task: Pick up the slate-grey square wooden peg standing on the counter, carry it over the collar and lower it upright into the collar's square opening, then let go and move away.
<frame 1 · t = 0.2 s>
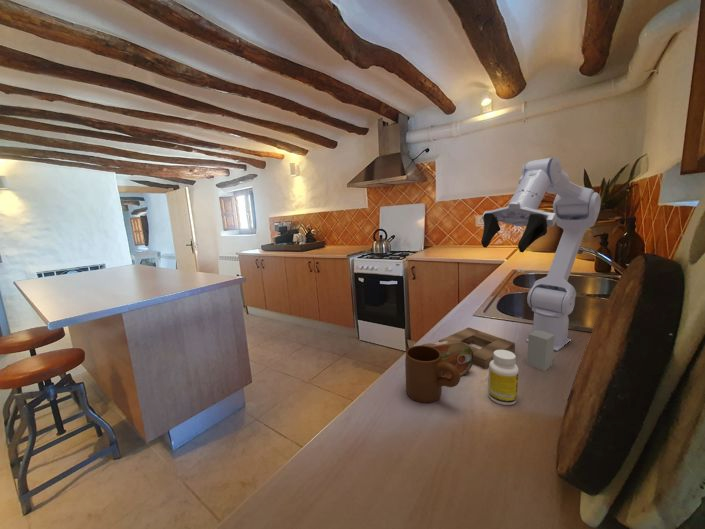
hand: (501, 246, 61), 31 cm above the countertop, tool tilted 45°, fingers open, 7 cm apart
collar: (475, 350, 80), on the countertop
supplement bottle: (501, 398, 60), on the countertop
peg: (539, 364, 71), on the countertop
tin: (441, 376, 69), on the countertop
mug: (432, 397, 62), on the countertop
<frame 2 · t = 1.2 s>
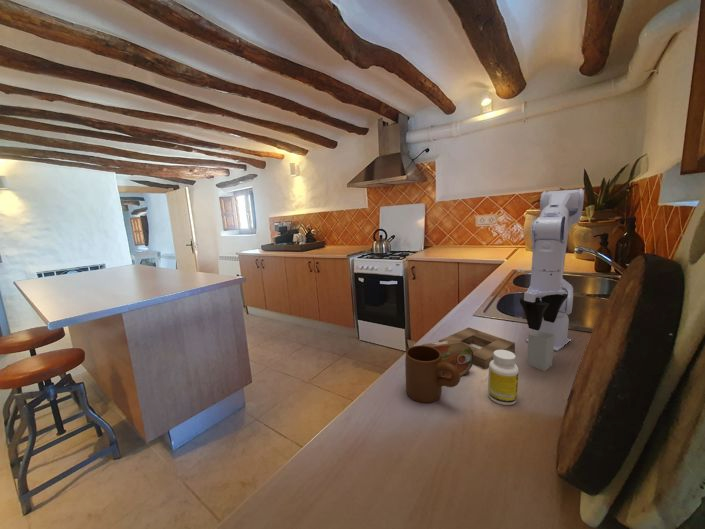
hand: (541, 325, 69), 11 cm above the countertop, tool pointing down, fingers open, 7 cm apart
nothing on the countertop moved.
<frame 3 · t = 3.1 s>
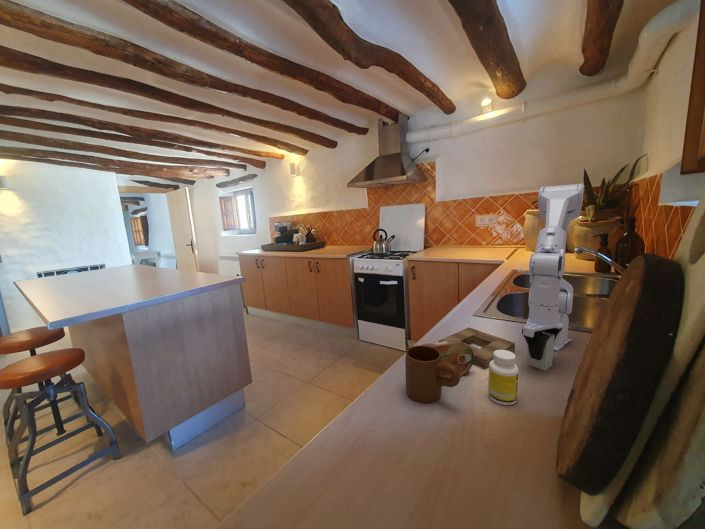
hand: (540, 355, 71), 2 cm above the countertop, tool pointing down, fingers closed on peg, 4 cm apart
peg: (539, 364, 71), on the countertop, touching gripper
everything else where it was.
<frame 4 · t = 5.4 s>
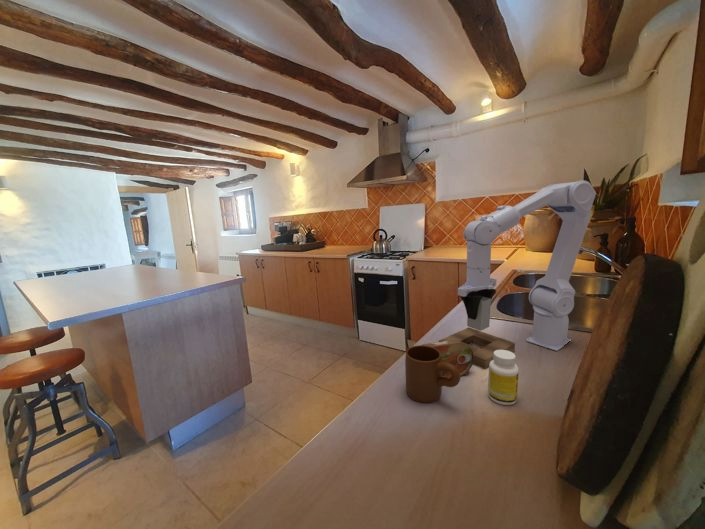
hand: (476, 316, 78), 10 cm above the countertop, tool pointing down, fingers closed on peg, 4 cm apart
peg: (478, 326, 78), point 7 cm above the countertop, touching gripper
everything else where it was.
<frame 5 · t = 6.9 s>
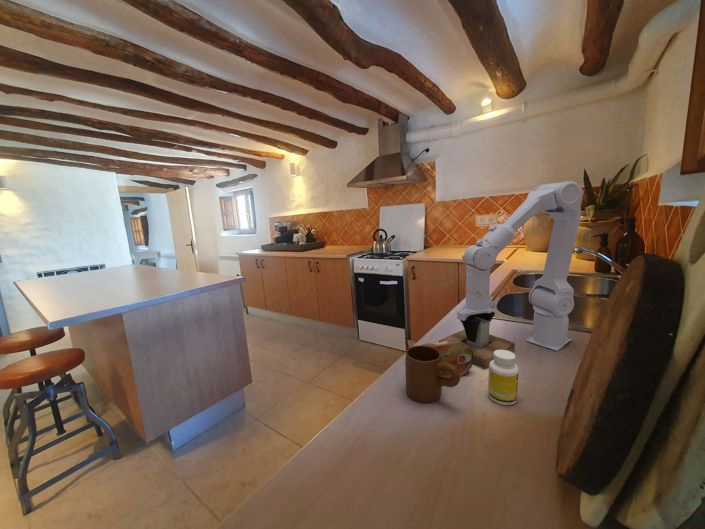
hand: (476, 338, 79), 4 cm above the countertop, tool pointing down, fingers closed on peg, 4 cm apart
peg: (477, 348, 80), point 1 cm above the countertop, touching gripper
everything else where it was.
when the fingers open (3 cm above the countertop, at t = 7.8 s): peg stays where it is, resting in collar.
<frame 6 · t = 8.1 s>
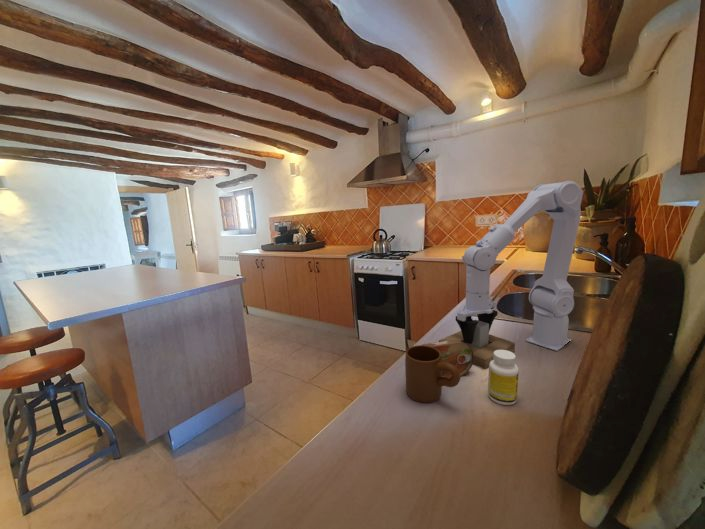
hand: (476, 338, 79), 3 cm above the countertop, tool pointing down, fingers open, 7 cm apart
peg: (477, 350, 80), resting in collar
everything else where it was.
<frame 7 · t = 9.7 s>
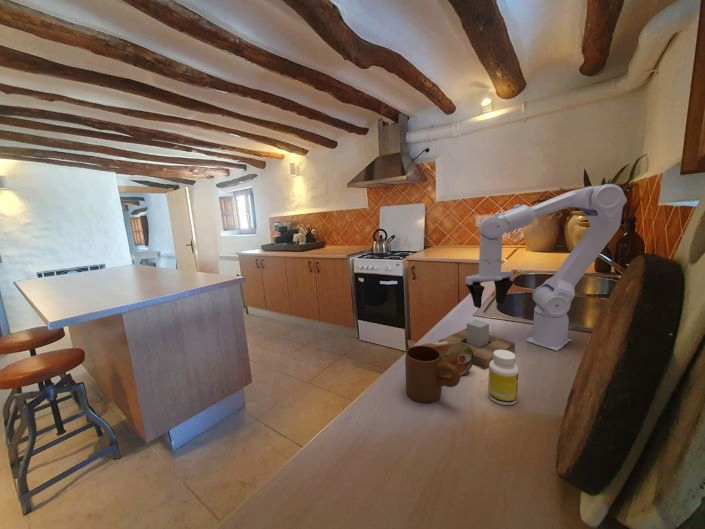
hand: (488, 305, 85), 10 cm above the countertop, tool pointing down, fingers open, 7 cm apart
nothing on the countertop moved.
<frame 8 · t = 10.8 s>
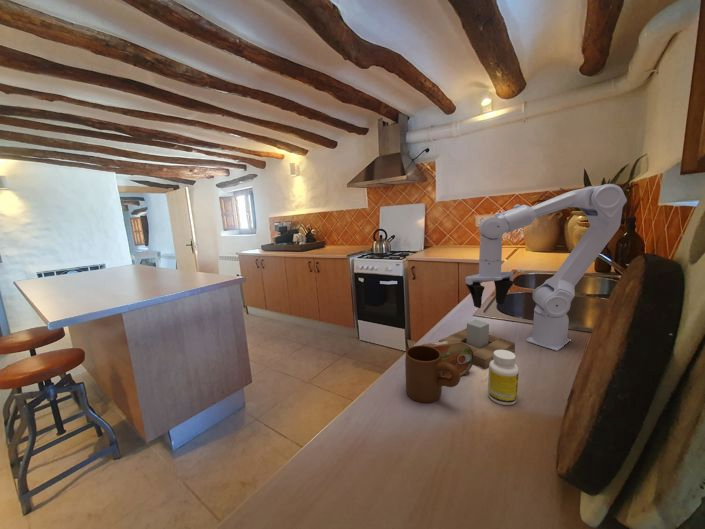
hand: (488, 305, 85), 10 cm above the countertop, tool pointing down, fingers open, 7 cm apart
nothing on the countertop moved.
at the end: peg 0.4 cm off-centre on the collar, point 0.0 cm above the collar's base; peg tilted 0°; the gripper is holding nothing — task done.
